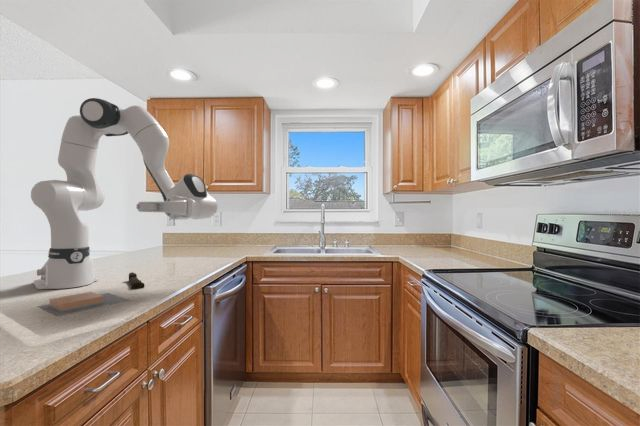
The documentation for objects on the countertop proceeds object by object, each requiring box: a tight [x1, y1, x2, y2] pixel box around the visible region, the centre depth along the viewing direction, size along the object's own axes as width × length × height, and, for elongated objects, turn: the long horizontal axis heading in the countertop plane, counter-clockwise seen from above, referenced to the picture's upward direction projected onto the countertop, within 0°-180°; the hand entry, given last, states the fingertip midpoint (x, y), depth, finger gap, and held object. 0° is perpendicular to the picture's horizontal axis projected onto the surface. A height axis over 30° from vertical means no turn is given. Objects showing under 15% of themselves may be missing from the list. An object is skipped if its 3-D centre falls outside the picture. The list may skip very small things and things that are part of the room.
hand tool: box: [128, 271, 145, 290], centre depth 117 cm, size 19×4×5 cm, turn 35°
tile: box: [49, 291, 103, 312], centre depth 90 cm, size 8×2×10 cm
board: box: [37, 292, 130, 317], centre depth 92 cm, size 14×18×2 cm
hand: (138, 206), depth 103 cm, fingers closed
